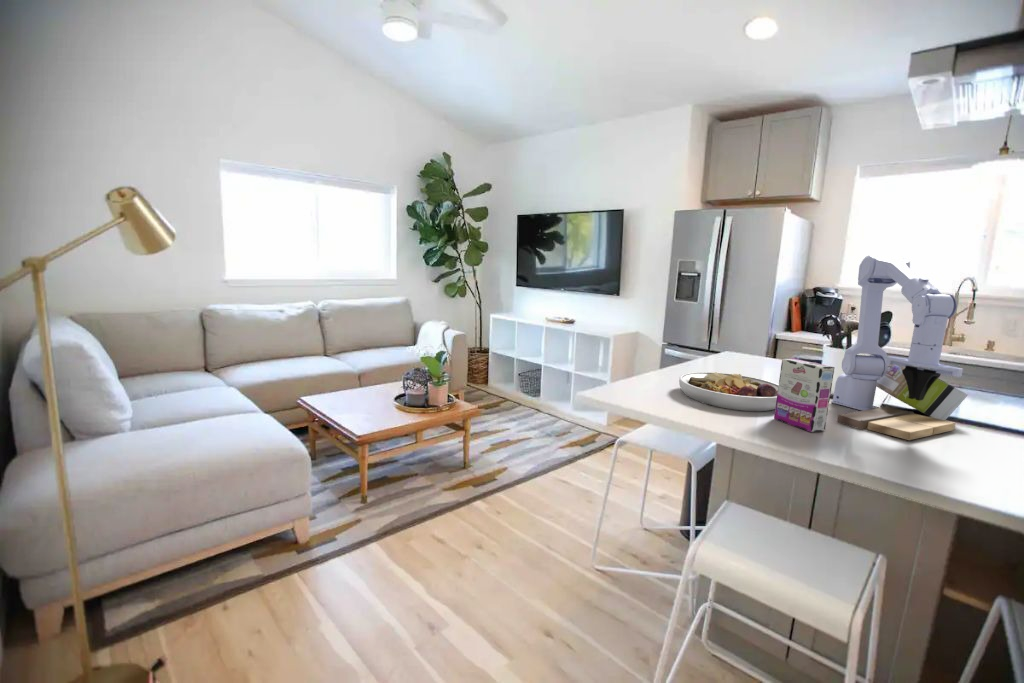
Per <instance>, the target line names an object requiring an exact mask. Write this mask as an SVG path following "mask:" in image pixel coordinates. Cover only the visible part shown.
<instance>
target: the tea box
mask: <svg viewBox="0 0 1024 683" xmlns="http://www.w3.org/2000/svg"><path fill="white" fill-rule="evenodd" d="M911 366H912V365H911ZM903 369H905V367H902V366H897V365H889V364H888V370H887V373H886V374H885V375H884V376H883V377H881V379H880V380H877V385H876V388H878V389H880V390H881V391H883V392H885V393H887V394H888V395H890V396H892V397H893V398H895V399H897V400H898V401H900V402H902V403H904V404H906V405H907V406H910V407H911V408H913V409H915V410H916V411H918V412H921V413H922V414H924V415H925V416H927V417H931V418H936V419H941V420H945V421H947V419H948V418H949V417H950V416H951V415H952V413H953V412H954V411H955V410H956V409H957V408H958V407H959V406H960V405H961V404H962V403H963V402H964V401H965V399H966V398H967V397H968V395H969V394H968V393H966V392H965V391H963V390H961V389H959V388H957V387H955V386H954V385H951V384H949V383H948V382H946V381H944V380H942V379H941V378H938V379H937V380H936V381H935V382H934V383H933V384H932V385H931V387H930V388H929V389H928V391H927V393H926V395H925V397H924V399H923V400H920V401H919V400H916V398H915V399H910V398H909V391H908V386H907V382H906V379H905V377H904V375H903V373H902V370H903Z"/></svg>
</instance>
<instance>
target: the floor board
mask: <svg viewBox="0 0 1024 683" xmlns="http://www.w3.org/2000/svg"><path fill="white" fill-rule="evenodd" d="M909 414H914V411H913V410H909V411H908V410H904V409H901V408H896V407H893V406H890V405H889V406H883V407H879V408H876V409H870V410H864V411H861V410H859V411H853V412H852V411H851V412H846V413H841V414H840V413H839V414H838V415H837V420H836V423H839V424H844V425H846V426H849V427H852V428H856V429H859V430H865V429H866V430H867V429H868V422H871V421H877V420H882V419H888V418H893V417H898V416H904V415H909Z"/></svg>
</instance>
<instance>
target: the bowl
mask: <svg viewBox="0 0 1024 683" xmlns="http://www.w3.org/2000/svg"><path fill="white" fill-rule="evenodd" d="M678 382H679V387H680V389H681V391H682V393H684V395H686V396H687V397H689V398H690V399H692V400H694V401H697V402H699V403H702V404H706V405H708V406H713V407H717V408H721V409H728V410H733V411H734V410H735V411H736V410H737V411H743V412H745V411H746V412H765V411H771V410H775V407H776V400H777V393H778V386H779V383H776V382H772V381H769V380H765V379H762V378H756V377H752V376H748V375H742V374H741V373H726V372H712V371H701V372H700V371H695V372H687V373H684V374H681V375H680V376H679V381H678Z"/></svg>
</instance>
